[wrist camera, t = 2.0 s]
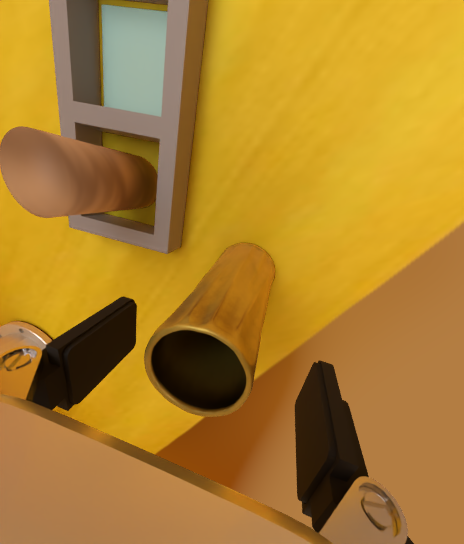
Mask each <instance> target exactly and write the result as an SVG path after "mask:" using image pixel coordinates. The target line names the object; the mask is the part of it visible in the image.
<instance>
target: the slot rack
mask: <svg viewBox="0 0 464 544" xmlns="http://www.w3.org/2000/svg"><path fill="white" fill-rule="evenodd" d="M127 1H137V2H146V3H155V4H165V5H168V12H166V11H157V10H147V9H138V8H129V7H120V6H111V5H102V40H103V82H104V106H101V86H100V51H99V16H98V0H49V6H50V17H51V28H52V40H53V51H54V62H55V73H56V84H57V95H58V106H59V117H60V128H61V136H63V137H67V138H71V139H75V140H78V141H82V142H86V143H90V144H94V145H98V146H101V147H102V132H107V133H112V134H117V135H122V136H127V137H133V138H138V139H143V140H148V141H153V142H158V143H160V145H159V161H158V178H157V194H156V211H155V226H151V225H147V224H143V223H140V222H136V221H132V220H128V219H124V218H120V217H116V216H112V215H108V214H105V213H104V212H100V213H90V214H80V215H70V216H69V227H71V228H74V229H78V230H82V231H85V232H89V233H93V234H96V235H100V236H104V237H107V238H111V239H115V240H118V241H122V242H126V243H129V244H133V245H137V246H140V247H144V248H147V249H151V250H155V251H158V252H162V253H166V254H168V253H170V252H172V251H174V250H176V249H178V248H180V247H181V241H182V232H183V223H184V214H185V205H186V196H187V187H188V178H189V169H190V160H191V151H192V142H193V133H194V124H195V115H196V106H197V97H198V89H199V80H200V71H201V62H202V53H203V44H204V35H205V26H206V17H207V8H208V0H127Z"/></svg>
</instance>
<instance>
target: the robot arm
mask: <svg viewBox="0 0 464 544" xmlns="http://www.w3.org/2000/svg"><path fill="white" fill-rule="evenodd" d="M136 311H137V305H136V303H135V301H134V300H133V299H130V298H126V297H121V298H119V299H117V300H116V301H114V302H113V303H111V304H110V305H108V306H106V307H105V308H103V309H102V310H100V311H99V312H97V313H95V314H94V315H92V316H91V317H89V318H87V319H86V320H84V321H83V322H81V323H80V324H78V325H76V326H75V327H73V328H72V329H70V330H68V331H67V332H65V333H64V334H62V335H61V336H59V337H57V338H56V339H54V340H53V341H52V340H51V339H50V338H49V337H48V336H47V335H46V334H45V333H44V332H42V331H41V330H40V329H38V328H36V327H34V326H33V325H30V324H28V323H24V322H20V321H13V322H9V323H7V324H5V325H3V326H1V327H0V544H414V543H413V542H412V541H411V540H410V538H409V537H408V536H407V534H408V529H407V523H406V519H405V517H404V515H403V512H402V510H401V508H400V506H399V505H398V503H397V501H396V500H395V498H394V497H393V496H392V495H391V494H390V493H389V491H388V490H387V489H386V488H384V487H383V486H382V485H381V484H380V483H379V482H377V481H376V480H374V479H372V478H369V476H368V473H367V469H366V466H365V462H364V458H363V455H362V451H361V448H360V444H359V441H358V437H357V434H356V430H355V426H354V423H353V419H352V415H351V412H350V408H349V406H348V403H347V402H346V401H344V400H342V398H341V394H340V390H339V386H338V383H337V378H336V374H335V370H334V367H333V365H332V364H329V363H326V362H323V361H318V363H316V362H314V364H313V365H312V367H311V370H310V372H309V374H308V376H307V378H306V380H305V383H304V385H303V387H302V389H301V391H300V393H299V395H298V398H297V400H296V404H295V428H296V429H295V432H296V466H297V496H298V499H299V500H300V501H302V513H303V514H305V515H307V516H310V517H312V527H313V528H314V530H315V531H314V530H313V529H311V528H310V527H308V526H306V525H304V524H303V523H301V522H299V521H297V520H295V519H293V518H291V517H290V516H288V515H286V514H283V513H282V512H279V511H277V510H275V509H273V508H271V507H269V506H267V505H264V504H263V503H260V502H258V501H256V500H254V499H251V498H250V497H248V496H246V495H243V494H241V493H239V492H237V491H235V490H232V489H230V488H228V487H226V486H223V485H221V484H219V483H217V482H215V481H212V480H210V479H208V478H205V477H203V476H201V475H199V474H197V473H194V472H192V471H190V470H188V469H185V468H183V467H181V466H179V465H177V464H174V463H172V462H170V461H168V460H165V459H163V458H161V457H158V456H156V455H154V454H152V453H149V452H147V451H145V450H143V449H140V448H138V447H136V446H134V445H131V444H129V443H127V442H124V441H122V440H120V439H118V438H115V437H113V436H111V435H108V434H106V433H104V432H102V431H99V430H97V429H95V428H92V427H90V426H88V425H85V424H83V423H81V422H79V421H76V420H74V419H72V418H69V417H67V416H65V415H62V414H60V413H57V412H55V411H52V410H53V409H54V408H55V407H56V406H58V407H60V408H62V409H65V410H67V411H68V410H69V409H70V408H71V407H72V406H73V405H74V404H78V403H80V402H81V401H82V400H83V399H84V398H85V397H86V396H87V395H88V394H89V393H90V392H91V391H92V390H93V389H94V388H95V387H96V386H97V385H98V384H99V383H100V382H101V381H102V380H103V379H104V378H105V377H106V376H107V375H108V374H109V373H110V372H111V371H112V370H113V369H114V368H115V367H116V365H117V364H118V363H119V362H120V361H121V360H122V359H123V358H124V357H125V356H126V355H127V354H128V353H129V352H130V351H131V350H132V349H133V348H134V346H135V344H136Z"/></svg>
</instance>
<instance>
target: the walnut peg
mask: <svg viewBox="0 0 464 544" xmlns="http://www.w3.org/2000/svg"><path fill="white" fill-rule="evenodd" d="M0 168H1V172H2V175H3V179H4V181H5V183H6V185H7V187H8V189H9V191H10V192H11V194H12V195H13V197H14V198H15V199H16V201H17V202H18V203H19V204H20V205H21V206H22V207H23V208H25V209H26V210H27V211H29V212H30V213H32V214H34V215H36V216H39V217H44V218H50V217H60V216H70V215H80V214H90V213H100V212H109V211H119V210H129V209H139V208H146V207H148V206H150V205H152V204H153V203H154V202H155V200H156V194H157V178H158V175H157V173H156V170H155V169H154V167H153V166H152V165H151V164H150V162H148V161H147V160H146V159H144V158H142V157H140V156H136V155H132V154H128V153H124V152H121V151H117V150H113V149H109V148H105V147H101V146H98V145H94V144H90V143H86V142H82V141H78V140H75V139H71V138H67V137H63V136H59V135H55V134H52V133H48V132H44V131H40V130H36V129H33V128H29V127H16V128H13V129H11V130H10V131H8V132H7V133H6V135H5V136H4V138H3V139H2V142H1V145H0Z"/></svg>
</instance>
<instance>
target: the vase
mask: <svg viewBox="0 0 464 544" xmlns="http://www.w3.org/2000/svg"><path fill="white" fill-rule="evenodd" d="M274 277H275V267H274V263H273V261H272V259H271V257H270V256H269V254H268V253H267V252H266V251H265V250H263V249H262V248H260V247H258V246H257V245H254V244H250V243H239V244H235V245H232V246H230V247H229V248H227V249H226V250H225V251H224V252H223V253H222V255H221V256H220V258H219V259H218V261H217V262H216V263H215V264H214V265H213V267H212V268H211V269H210V270H209V272H208V273H207V274H206V275H205V276H204V277H203V279H202V280H201V281H200V283H199V284H198V285H197V287H196V288H195V290H194V291H193V292H192V293H191V294H190V295H189V296H188V298H187V299H186V300H185V301H184V302H183V303H182V304H181V305H180V306H179V308H178V309H177V310H176V311H175V312H174V313H173V314H172V315H171V316H170V317H169V318H168V319H167V320H166V321H165V322H164V323H163V324H162V325H161V326H160V327H159V328H158V329H157V330H156V331H155V333H154V334H153V336H152V337H151V339H150V341H149V343H148V345H147V347H146V350H145V356H144V361H145V369H146V372H147V375H148V377H149V379H150V381H151V383H152V384H153V385H154V387H155V388H156V389H157V390H158V391H159V392H160V393H161V394H162V396H163V397H164V398H165V399H167V400H168V401H169V402H171V403H172V404H174V405H176V406H177V407H179V408H181V409H182V410H184V411H186V412H189V413H191V414H195V415H199V416H205V417H214V416H224V415H228V414H230V413H232V412H234V411H236V410H237V409H239V408H240V407H241V406H242V405H243V403H244V402H245V401H246V399H247V398H248V396H249V395H250V393H251V390H252V387H253V380H254V374H255V368H256V363H257V357H258V351H259V346H260V339H261V331H262V326H263V323H264V318H265V314H266V309H267V304H268V298H269V292H270V288H271V284H272V282H273V280H274Z"/></svg>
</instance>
